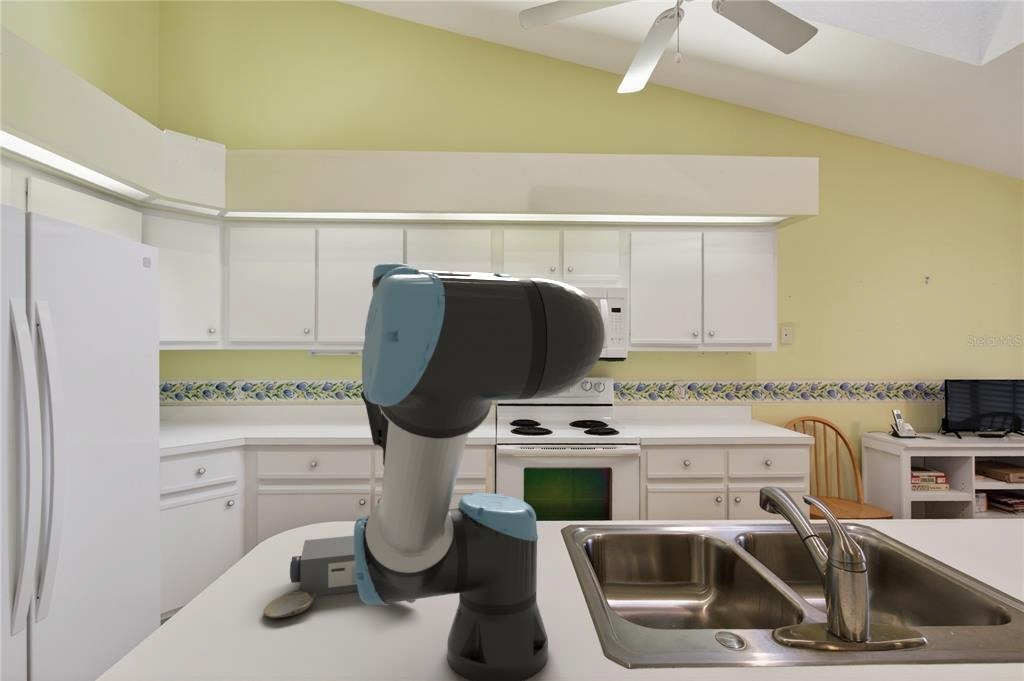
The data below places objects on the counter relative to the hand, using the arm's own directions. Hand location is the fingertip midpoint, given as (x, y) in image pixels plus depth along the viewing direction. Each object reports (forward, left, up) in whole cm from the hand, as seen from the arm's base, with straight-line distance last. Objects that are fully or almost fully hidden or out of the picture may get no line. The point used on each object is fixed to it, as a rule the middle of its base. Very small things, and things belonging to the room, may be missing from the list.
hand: (394, 485), depth 97 cm
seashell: (+3, +18, -22) cm, 28 cm away
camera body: (+12, +9, -21) cm, 26 cm away
